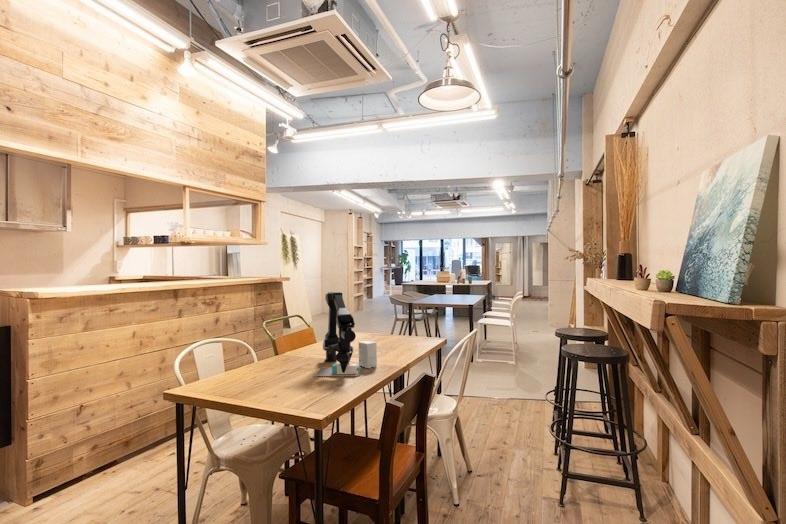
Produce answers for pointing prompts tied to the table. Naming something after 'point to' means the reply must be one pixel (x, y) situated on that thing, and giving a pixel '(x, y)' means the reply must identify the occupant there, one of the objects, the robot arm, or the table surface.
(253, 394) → the table surface
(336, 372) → the marker
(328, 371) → the slate board
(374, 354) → the small box
